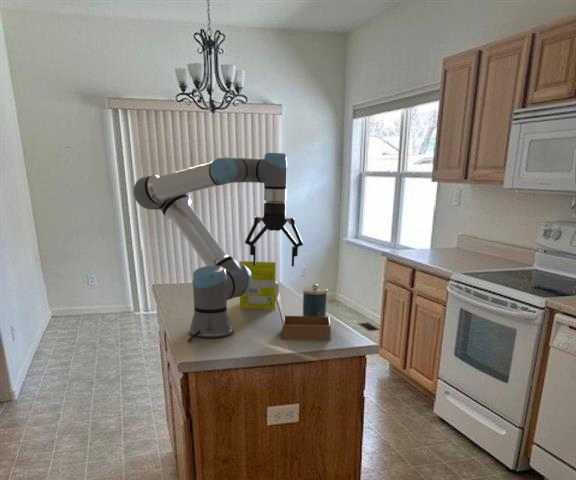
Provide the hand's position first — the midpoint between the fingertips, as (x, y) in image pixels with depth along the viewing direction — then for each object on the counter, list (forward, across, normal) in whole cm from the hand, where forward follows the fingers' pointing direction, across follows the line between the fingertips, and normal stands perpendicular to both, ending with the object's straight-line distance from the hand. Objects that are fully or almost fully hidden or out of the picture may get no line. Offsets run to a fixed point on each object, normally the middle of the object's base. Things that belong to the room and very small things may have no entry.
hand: (273, 265), depth 189 cm
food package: (+25, +7, -34) cm, 43 cm away
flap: (+14, -3, +3) cm, 15 cm away
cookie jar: (+24, -16, -10) cm, 31 cm away
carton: (+24, -12, +4) cm, 28 cm away
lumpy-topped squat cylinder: (+25, +5, -55) cm, 61 cm away
